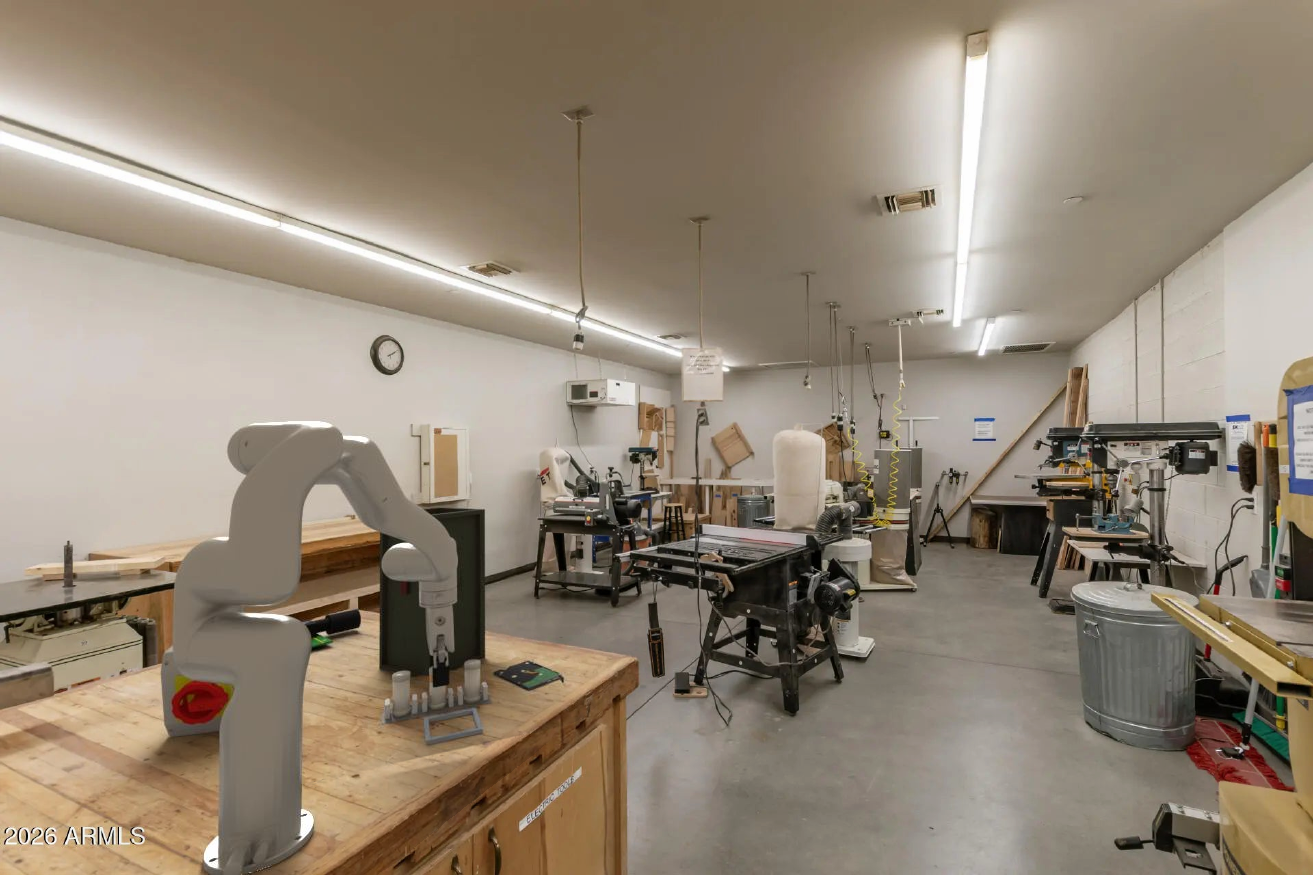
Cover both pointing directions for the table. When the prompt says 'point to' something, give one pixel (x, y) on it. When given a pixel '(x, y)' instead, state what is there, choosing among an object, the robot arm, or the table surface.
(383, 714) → the fuse holder
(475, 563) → the first aid box
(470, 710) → the tray
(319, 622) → the electronic board model
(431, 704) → the cylinder
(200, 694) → the electrical switch box
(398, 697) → the domed white capsule
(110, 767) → the table surface
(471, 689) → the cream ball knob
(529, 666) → the disk drive
